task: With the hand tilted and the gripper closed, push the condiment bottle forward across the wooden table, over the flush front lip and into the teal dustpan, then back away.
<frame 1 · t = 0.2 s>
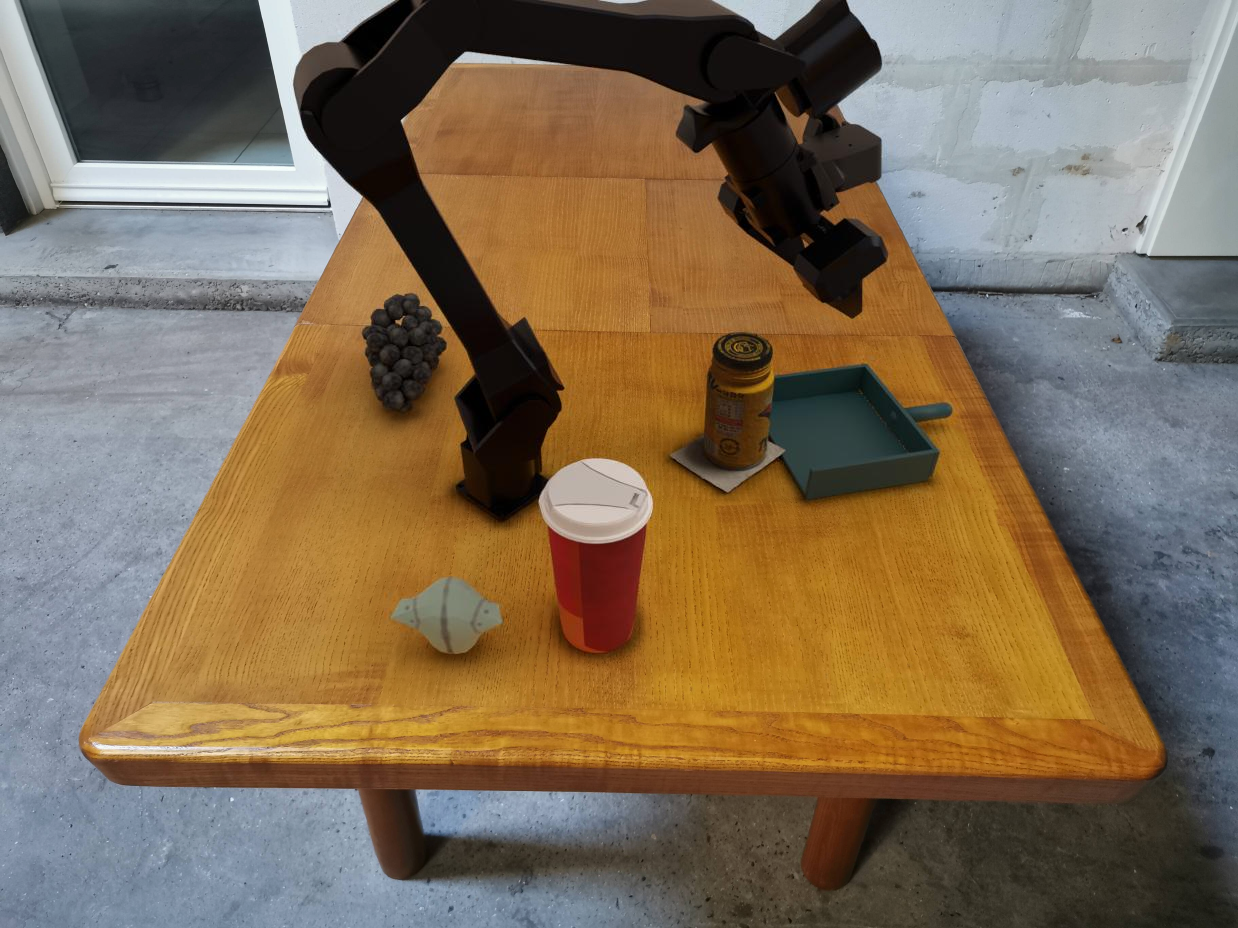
hand: (829, 290, 79), 15 cm above the table, tool tilted 35°, fingers open, 9 cm apart
fruit: (403, 388, 93), on the table
paper cup: (596, 626, 68), on the table
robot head: (457, 648, 66), on the table
condiment: (727, 456, 84), on the table, touching teal dustpan
teal dustpan: (833, 441, 86), on the table
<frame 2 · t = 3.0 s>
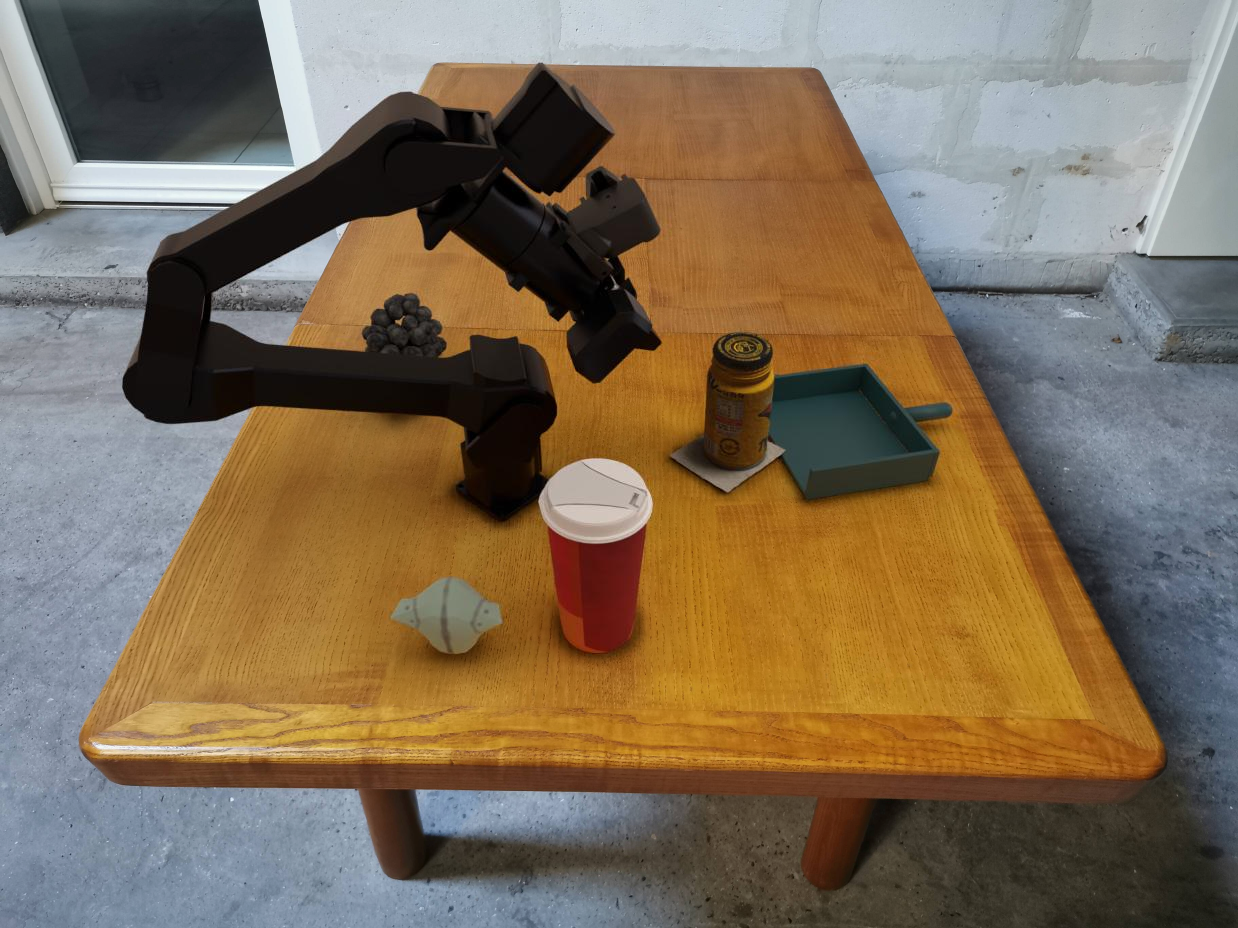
hand: (657, 344, 74), 14 cm above the table, tool tilted 45°, fingers closed
nothing on the table moved.
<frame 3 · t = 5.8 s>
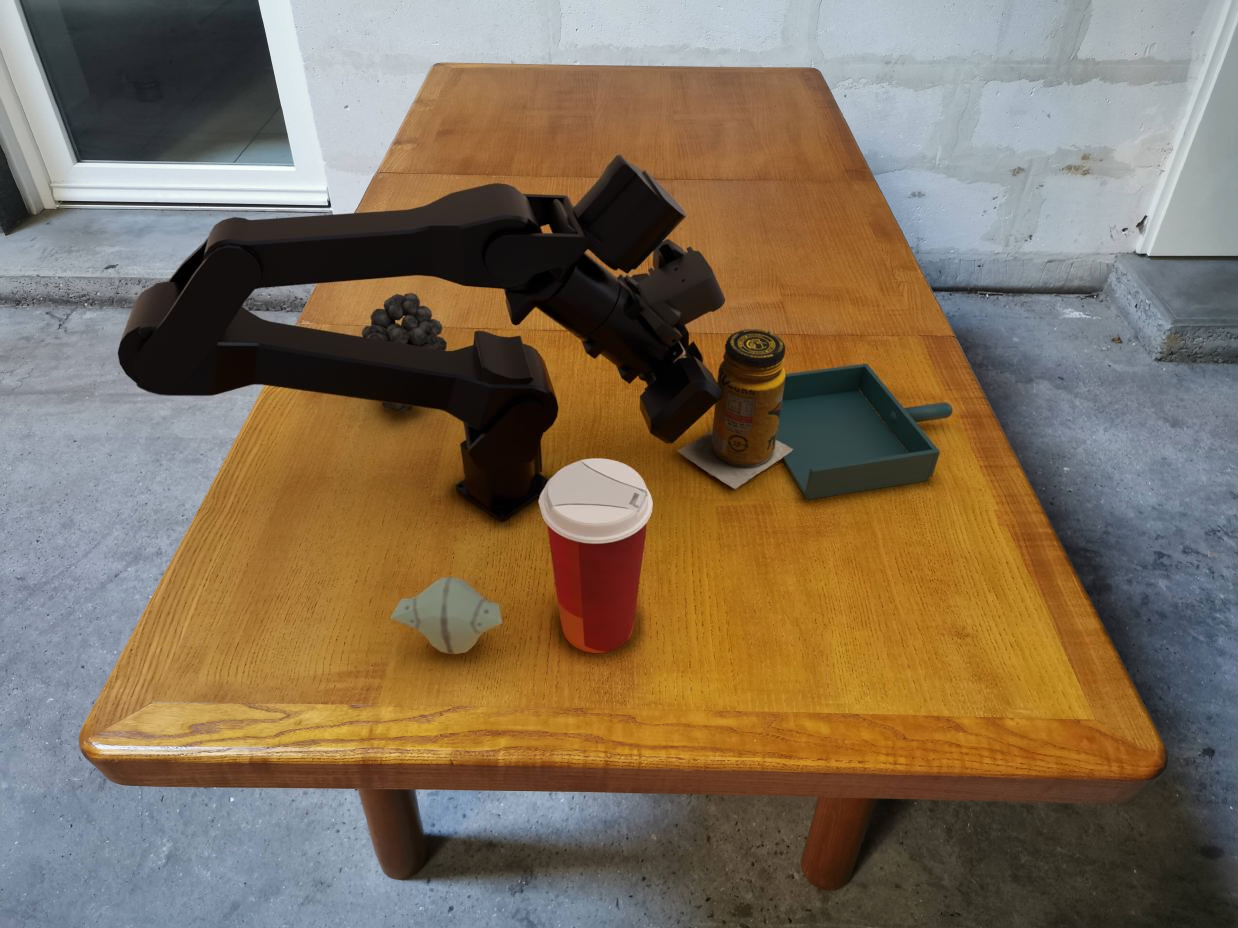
hand: (716, 399, 80), 7 cm above the table, tool tilted 45°, fingers closed, pressing on condiment
condiment: (735, 454, 84), on the table, touching gripper
everything else where it was.
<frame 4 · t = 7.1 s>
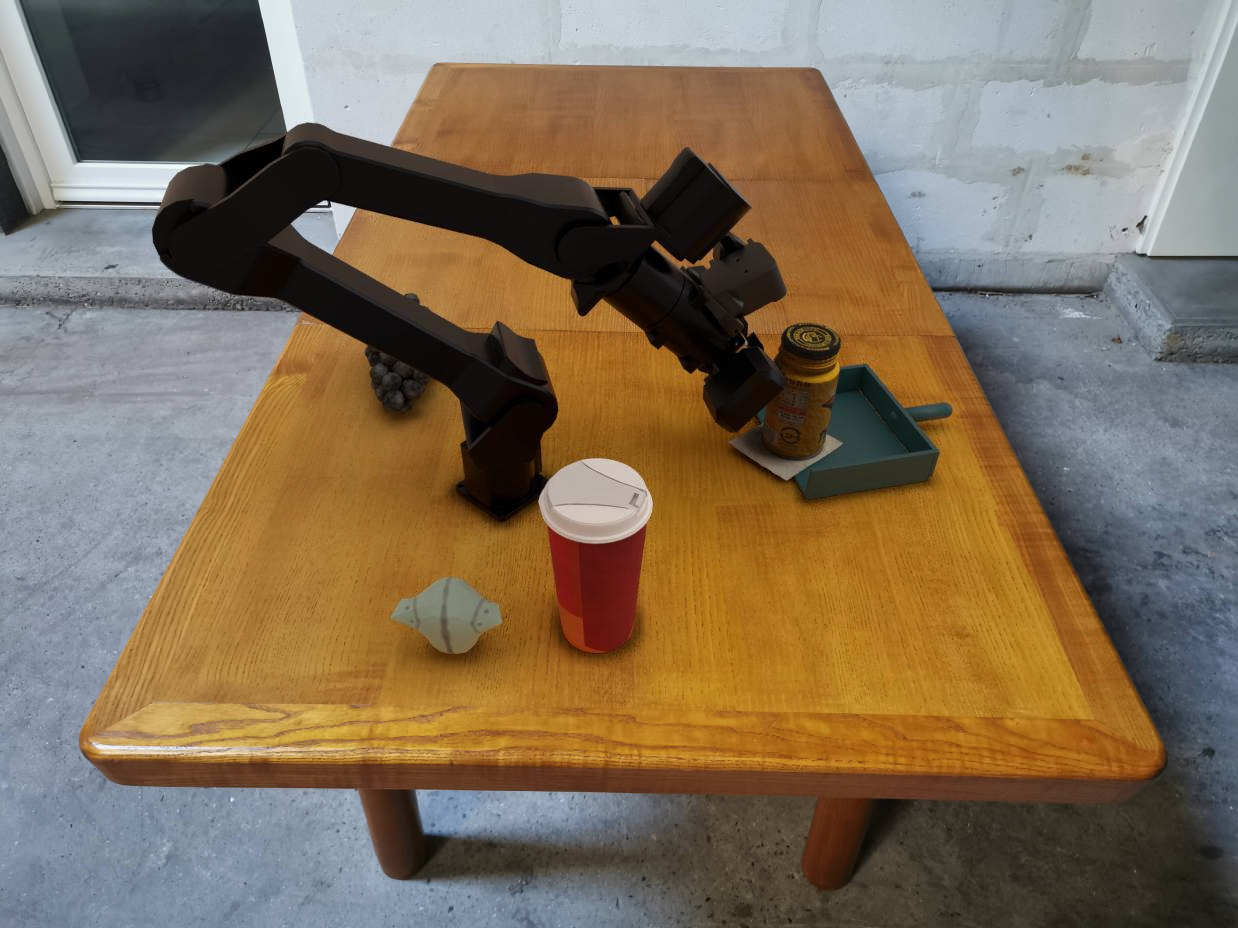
hand: (772, 389, 80), 7 cm above the table, tool tilted 45°, fingers closed, pressing on condiment
condiment: (785, 446, 85), on the table, touching gripper
everything else where it was.
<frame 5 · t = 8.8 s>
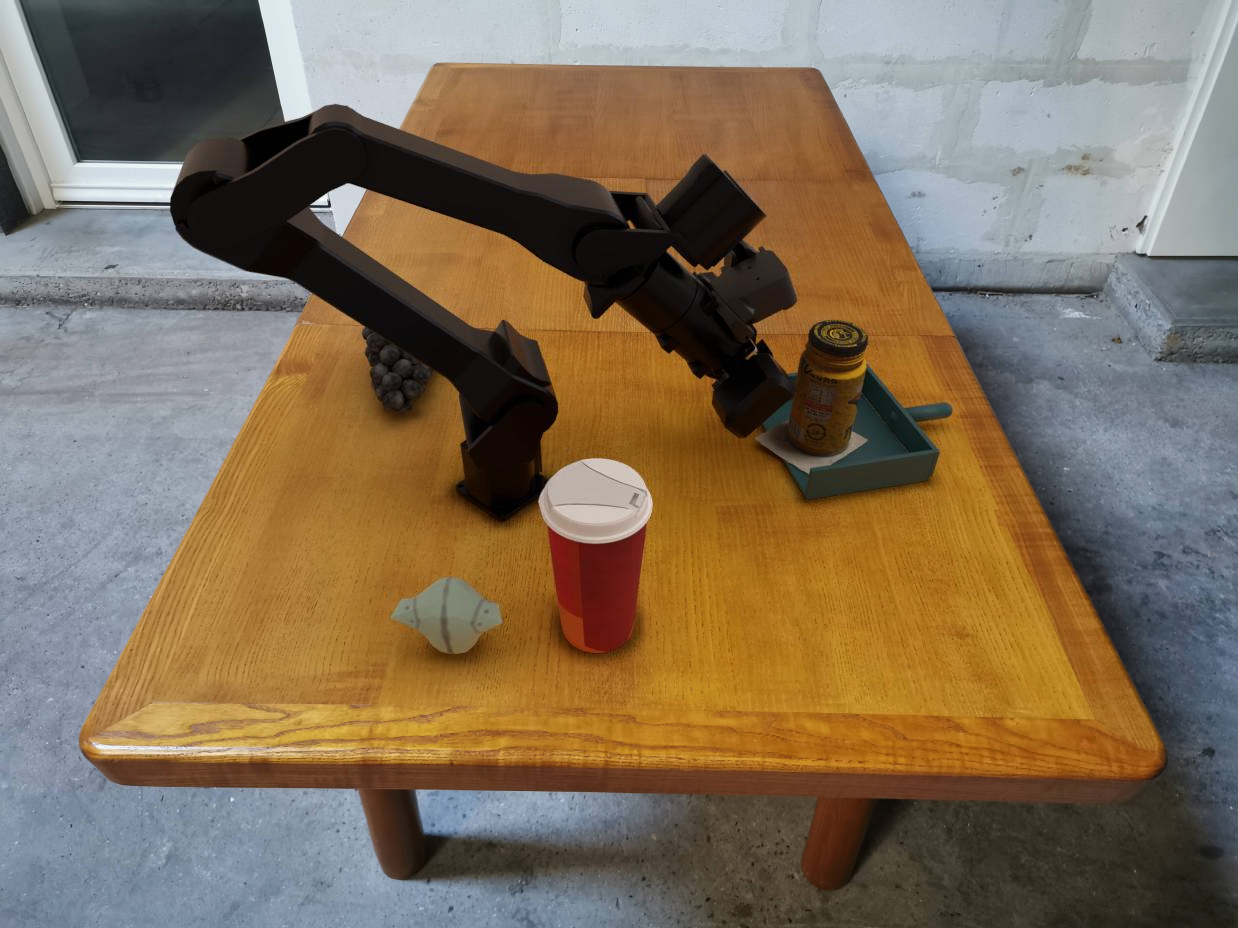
hand: (778, 396, 81), 6 cm above the table, tool tilted 45°, fingers closed
condiment: (810, 443, 86), resting on teal dustpan
everything else where it was.
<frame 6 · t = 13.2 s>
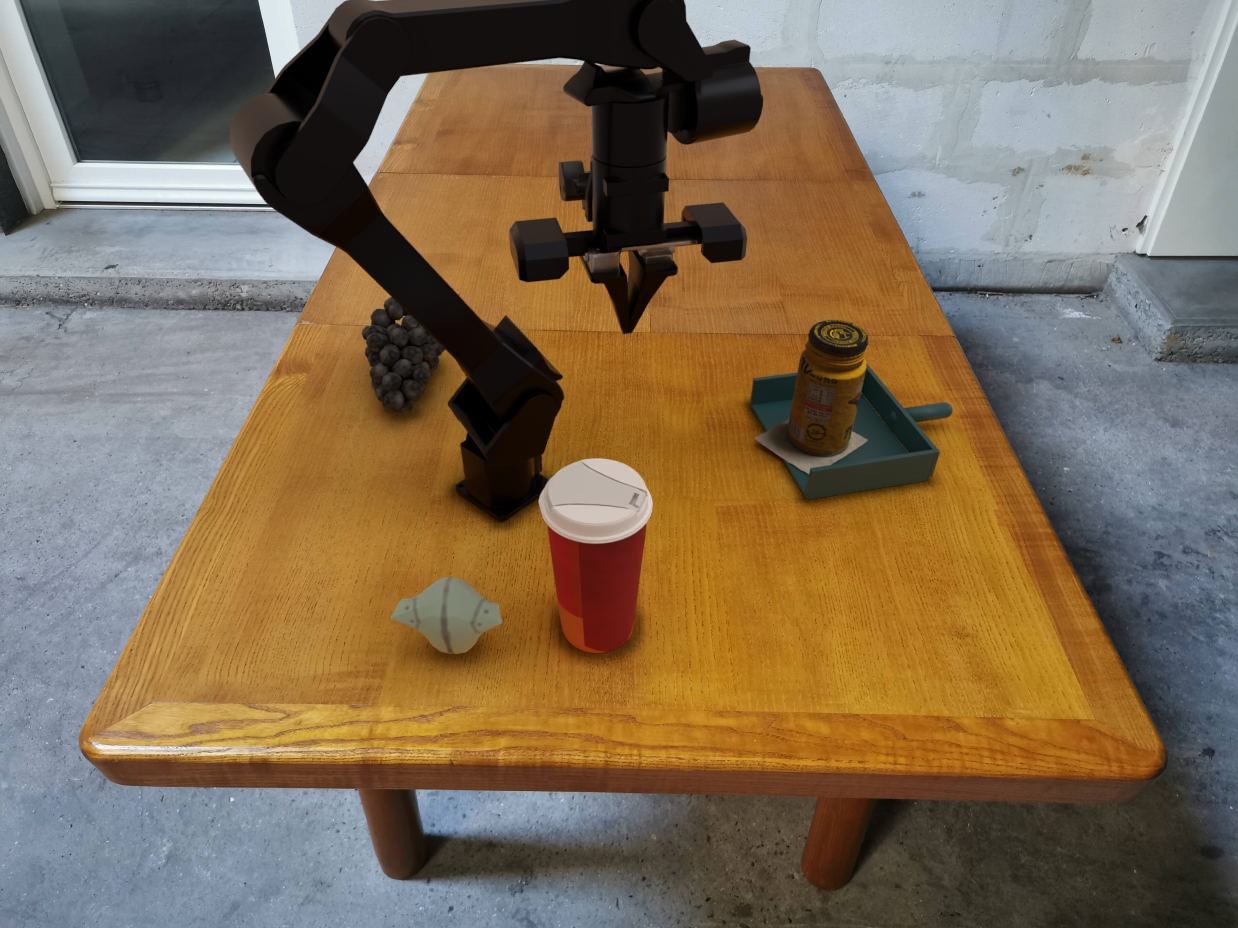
hand: (626, 331, 77), 13 cm above the table, tool pointing down, fingers closed
nothing on the table moved.
at the end: condiment inside the target area in the teal dustpan (2.4 cm from its centre), point 0.2 cm above the teal dustpan's base; condiment tilted 0°; paper cup moved 0.2 cm from its start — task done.
